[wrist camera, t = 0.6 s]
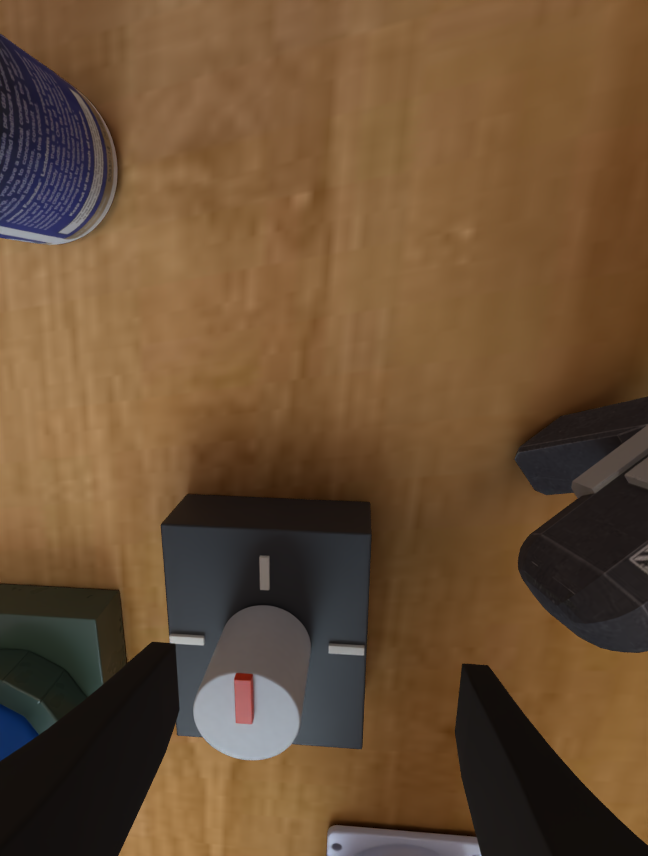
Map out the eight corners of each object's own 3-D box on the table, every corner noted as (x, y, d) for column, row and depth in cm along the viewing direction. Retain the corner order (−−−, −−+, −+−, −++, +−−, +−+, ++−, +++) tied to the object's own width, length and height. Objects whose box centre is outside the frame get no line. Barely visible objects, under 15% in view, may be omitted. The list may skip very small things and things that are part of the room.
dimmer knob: (310, 684, 20) (299, 773, 16) (223, 678, 20) (192, 765, 17) (311, 606, 19) (299, 682, 16) (219, 602, 20) (186, 675, 16)
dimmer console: (362, 695, 24) (362, 753, 21) (198, 683, 24) (174, 739, 21) (370, 501, 21) (371, 536, 18) (186, 493, 22) (158, 525, 19)
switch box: (137, 759, 26) (98, 840, 22) (-10, 747, 26) (-73, 825, 23) (119, 590, 23) (71, 648, 19) (-43, 580, 24) (-121, 636, 20)
